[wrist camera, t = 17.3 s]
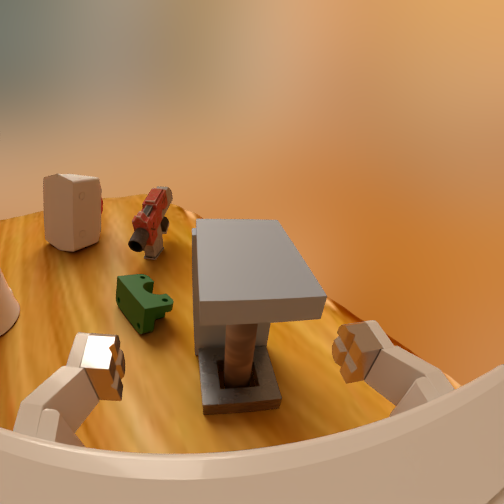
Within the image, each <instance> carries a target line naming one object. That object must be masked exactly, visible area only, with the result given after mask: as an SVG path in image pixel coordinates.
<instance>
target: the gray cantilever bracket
mask: <svg viewBox="0 0 504 504" xmlns="http://www.w3.org/2000/svg"><path fill="white" fill-rule="evenodd" d="M192 280H193V316H194V340H195V355H199V351H198V349H199V348H225V338H226V325H235V324H256V323H258V327H257V334H256V341H255V346H261V345H266V346H267V340H268V334H269V328H270V323H273V322H287V321H300V320H312V319H321V316H322V312H323V309H324V305H325V302H326V298H327V295H326V294H325V292H324V290H323V289H322V287H321V286H320V284H319V283H318V281H317V279H316V278H315V276H314V275H313V273H312V272H311V270H310V269H309V267H308V266H307V264H306V262H305V261H304V259H303V258H302V256H301V255H300V253H299V252H298V250H297V249H296V247H295V246H294V244H293V243H292V241H291V240H290V238H289V237H288V235H287V234H286V232H285V231H284V229H283V228H282V226H281V225H280V223H279V222H278V220H253V219H251V220H250V219H196V228H192Z"/></svg>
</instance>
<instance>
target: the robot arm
mask: <svg viewBox="0 0 504 504" xmlns="http://www.w3.org/2000/svg"><path fill="white" fill-rule="evenodd" d="M19 311H20V307H19V304H18V302H17V300H16V299H15V298H14V296H13V292H12V290H11V288H9V287H8V285H7V282H6V280H5V278H4V276H3V273H2V271H1V269H0V336H1V335H2V334H4V333H5V332H6V331H7V330H9V329H10V328H11V327H12V325H13V324H14V323H15V321H16V320H17V318H18V315H19ZM337 333H338V335H339V336H338V337H337V338H336V339H335V340H334V342H333V345H332V355H333V359H334V361H335V363H336V364H338V365H340V366H341V369H340V373H341V375H342V377H343V379H344V381H345V382H346V384H347V383H352V382H358V381H362V380H364V381H365V382H366V383H367V384H368V385H370V386H371V387H372V388H374V389H375V390H376V391H377V392H379V393H380V394H381V395H383V396H384V397H385V398H386V399H388V400H389V401H390V402H392V403H393V404H394V405H396V407H395V408H394V410H393V411H392V412H391V414H390V417H388V418H385V419H382V420H379V421H376V422H373V423H370V424H367V425H364V426H360V427H357V428H354V429H350V430H346V431H343V432H339V433H335V434H331V435H327V436H323V437H319V438H314V439H309V440H305V441H300V442H294V443H289V444H283V445H277V446H271V447H264V448H257V449H248V450H239V451H229V452H216V453H196V454H151V453H132V452H120V451H109V450H101V449H93V448H86V447H85V446H84V445H83V443H82V442H81V441H80V440H79V438H78V437H77V436H76V435H75V432H76V431H77V429H78V428H79V427H80V425H81V424H82V423H83V421H84V420H85V419H86V418H87V416H88V415H89V414H90V413H91V411H92V410H93V409H94V407H95V406H96V405H97V404H98V402H99V400H110V401H121V400H122V391H123V384H122V382H121V379H122V378H123V377H124V374H125V359H124V354H123V351H122V350H121V349H119V348H120V340H119V336H118V335H110V334H96V333H81V332H79V333H78V334H77V335H76V337H75V340H74V343H73V346H72V349H71V352H70V355H69V358H68V361H67V365H66V366H62V367H61V368H60V369H58V370H57V371H56V372H55V373H54V374H53V375H51V376H50V377H49V378H48V379H47V380H46V381H44V382H43V383H42V384H41V385H40V386H39V387H38V388H36V389H35V390H34V391H33V392H32V393H31V394H30V395H28V396H27V397H26V398H25V399H24V400H23V401H22V402H21V404H20V408H19V411H18V415H17V418H16V422H15V426H14V429H13V431H10V430H7V429H4V428H1V427H0V504H504V364H502V365H499V366H497V367H496V368H494V369H492V370H491V371H489V372H487V373H486V374H484V375H482V376H480V377H478V378H477V379H475V380H473V381H471V382H469V383H467V384H465V385H463V386H461V387H459V388H457V389H454V388H453V386H452V385H451V384H450V382H449V381H448V379H447V378H446V377H445V375H444V374H443V372H442V371H441V370H440V369H438V368H437V367H435V366H433V365H431V364H429V363H427V362H426V361H424V360H422V359H420V358H418V357H417V356H415V355H413V354H411V353H409V352H407V351H406V350H404V349H402V348H400V347H398V346H394V345H393V344H392V342H391V341H390V339H389V338H388V337H387V335H386V334H385V332H384V331H383V330H382V328H381V327H380V326H379V324H378V323H377V322H376V321H375V320H371V321H365V322H358V323H351V324H344V325H341V326H340V327H339V329H338V331H337Z"/></svg>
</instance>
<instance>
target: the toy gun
mask: <svg viewBox="0 0 504 504" xmlns="http://www.w3.org/2000/svg"><path fill="white" fill-rule="evenodd" d="M172 199H173V198H172V192H171V190H170V189H169V188H168V187H157V188H153V189H151V191H150V192H149V194H148V196H147V197H146V199H145V200H144V202H143V204H142V205H143V209H142V210H141V212H140V211H139V213H138V214H137V216H135V217H134V218H133V220H132V224H133V227H134V233H133V235H132V237H131V239H130V241H129V243H128V246H129V247H130V249H132V250H133V251H135V252H141V251H142V250H143V251H145V256H144V258H145V259H152V260H156V259H157V257H158V256H159V255H160V253H161V252H162V251H163V249H164V247H163V239H162V234H166V233H167V230H168V226H169V221H168V219H167V218H166V217H164V215H165V213H166V211H167V209H168V207H169V205H170V203H171V201H172Z"/></svg>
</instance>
